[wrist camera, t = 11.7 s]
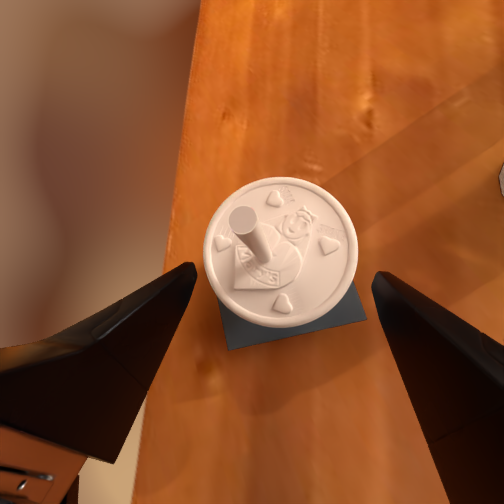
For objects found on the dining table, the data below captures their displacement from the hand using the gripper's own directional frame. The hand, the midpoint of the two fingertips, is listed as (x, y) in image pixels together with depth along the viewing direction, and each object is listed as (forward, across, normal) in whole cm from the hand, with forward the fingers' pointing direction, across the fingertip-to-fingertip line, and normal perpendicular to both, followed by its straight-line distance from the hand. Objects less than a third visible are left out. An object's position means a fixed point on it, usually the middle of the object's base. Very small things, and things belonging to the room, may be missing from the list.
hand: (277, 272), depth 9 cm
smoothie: (+6, 0, +5) cm, 8 cm away
